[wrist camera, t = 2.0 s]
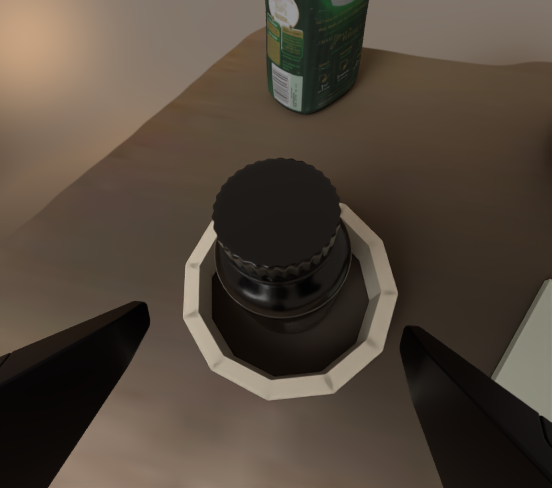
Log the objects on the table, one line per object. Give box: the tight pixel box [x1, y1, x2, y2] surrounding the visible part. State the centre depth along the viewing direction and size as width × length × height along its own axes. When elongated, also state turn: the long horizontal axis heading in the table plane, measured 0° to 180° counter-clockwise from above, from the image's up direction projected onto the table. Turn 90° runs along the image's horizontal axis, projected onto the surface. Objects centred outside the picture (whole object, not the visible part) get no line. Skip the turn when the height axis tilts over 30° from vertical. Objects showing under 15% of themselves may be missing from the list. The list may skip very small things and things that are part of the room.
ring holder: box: [183, 203, 398, 400], centre depth 19 cm, size 14×14×3 cm
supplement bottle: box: [212, 158, 352, 334], centre depth 15 cm, size 7×7×12 cm
